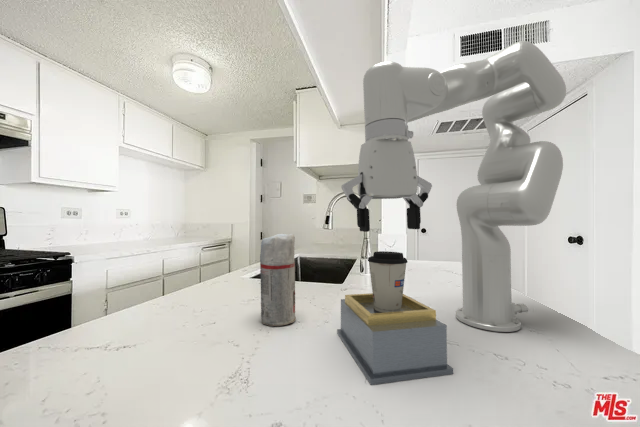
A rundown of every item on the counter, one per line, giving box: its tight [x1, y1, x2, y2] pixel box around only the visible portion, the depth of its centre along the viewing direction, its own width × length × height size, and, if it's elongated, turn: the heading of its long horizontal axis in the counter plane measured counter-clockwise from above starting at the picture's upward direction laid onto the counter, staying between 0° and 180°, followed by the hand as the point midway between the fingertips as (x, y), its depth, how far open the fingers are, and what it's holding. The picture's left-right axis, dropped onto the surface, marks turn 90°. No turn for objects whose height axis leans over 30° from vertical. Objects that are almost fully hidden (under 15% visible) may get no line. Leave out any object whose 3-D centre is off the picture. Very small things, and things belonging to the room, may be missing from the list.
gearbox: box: [336, 292, 454, 386], centre depth 46 cm, size 17×15×8 cm
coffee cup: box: [367, 250, 408, 313], centre depth 46 cm, size 7×7×10 cm
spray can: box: [259, 233, 297, 327], centre depth 60 cm, size 8×8×20 cm
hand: (389, 230), depth 47 cm, fingers open, 9 cm apart
